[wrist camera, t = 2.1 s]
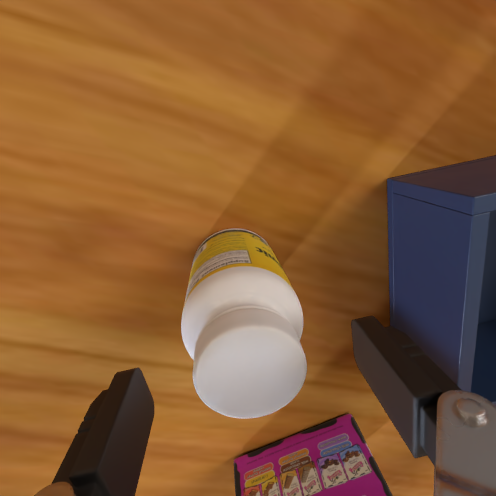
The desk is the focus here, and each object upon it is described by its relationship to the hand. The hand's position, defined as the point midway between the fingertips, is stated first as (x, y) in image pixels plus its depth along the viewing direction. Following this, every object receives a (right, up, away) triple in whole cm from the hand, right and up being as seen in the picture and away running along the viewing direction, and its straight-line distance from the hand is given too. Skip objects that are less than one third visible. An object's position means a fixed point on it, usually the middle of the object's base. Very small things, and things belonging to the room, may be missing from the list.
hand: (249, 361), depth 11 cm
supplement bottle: (-1, +3, +8) cm, 9 cm away
